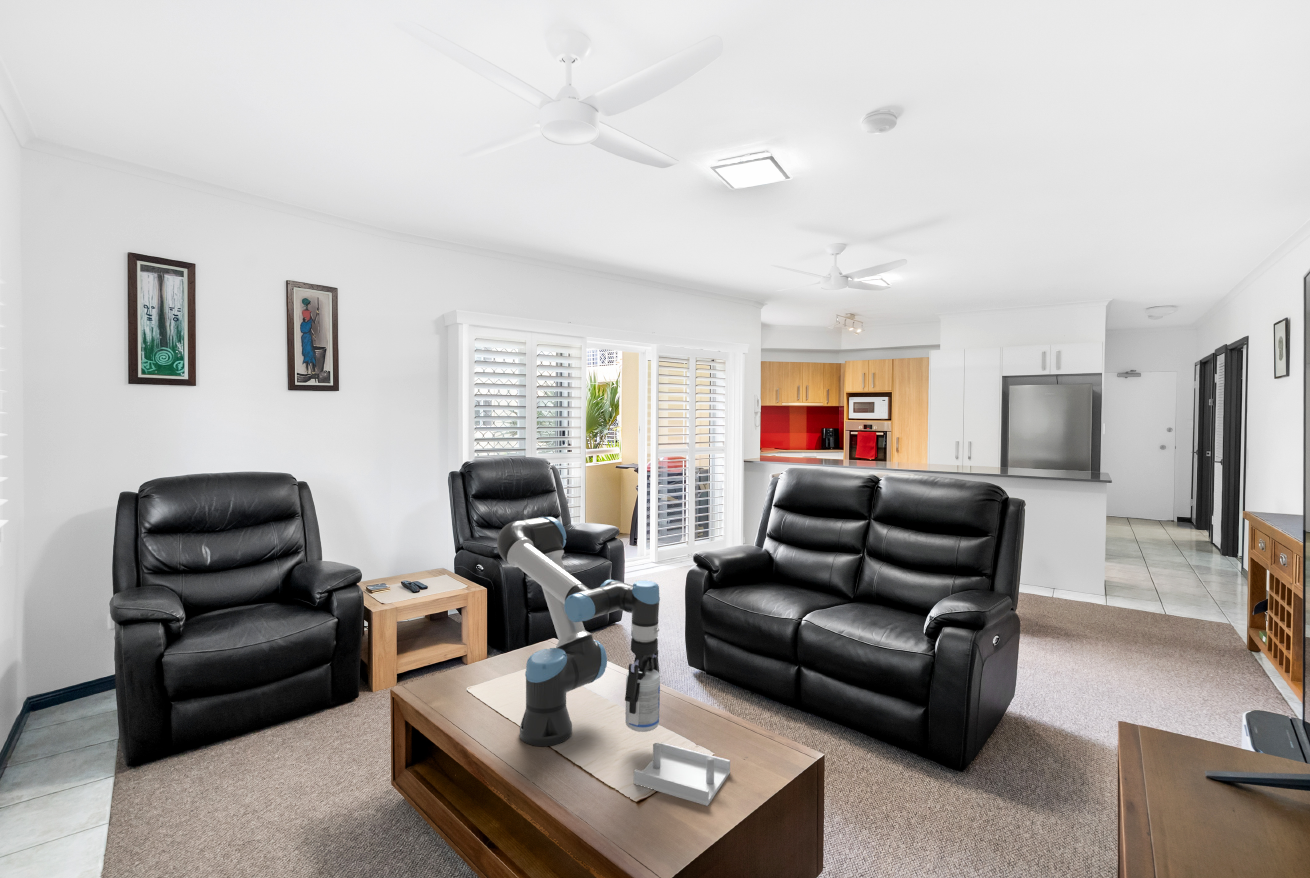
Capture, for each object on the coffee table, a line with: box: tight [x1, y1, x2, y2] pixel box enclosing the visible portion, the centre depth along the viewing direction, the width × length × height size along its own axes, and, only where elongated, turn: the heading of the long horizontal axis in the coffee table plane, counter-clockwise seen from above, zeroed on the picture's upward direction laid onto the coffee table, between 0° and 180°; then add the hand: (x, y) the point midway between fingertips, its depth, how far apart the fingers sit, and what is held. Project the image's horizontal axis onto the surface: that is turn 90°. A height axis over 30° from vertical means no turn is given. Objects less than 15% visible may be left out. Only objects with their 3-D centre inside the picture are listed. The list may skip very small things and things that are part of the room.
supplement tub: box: [625, 670, 661, 733], centre depth 181 cm, size 10×10×15 cm
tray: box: [633, 742, 731, 807], centre depth 166 cm, size 20×16×7 cm
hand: (642, 715), depth 181 cm, fingers closed on supplement tub, 9 cm apart
